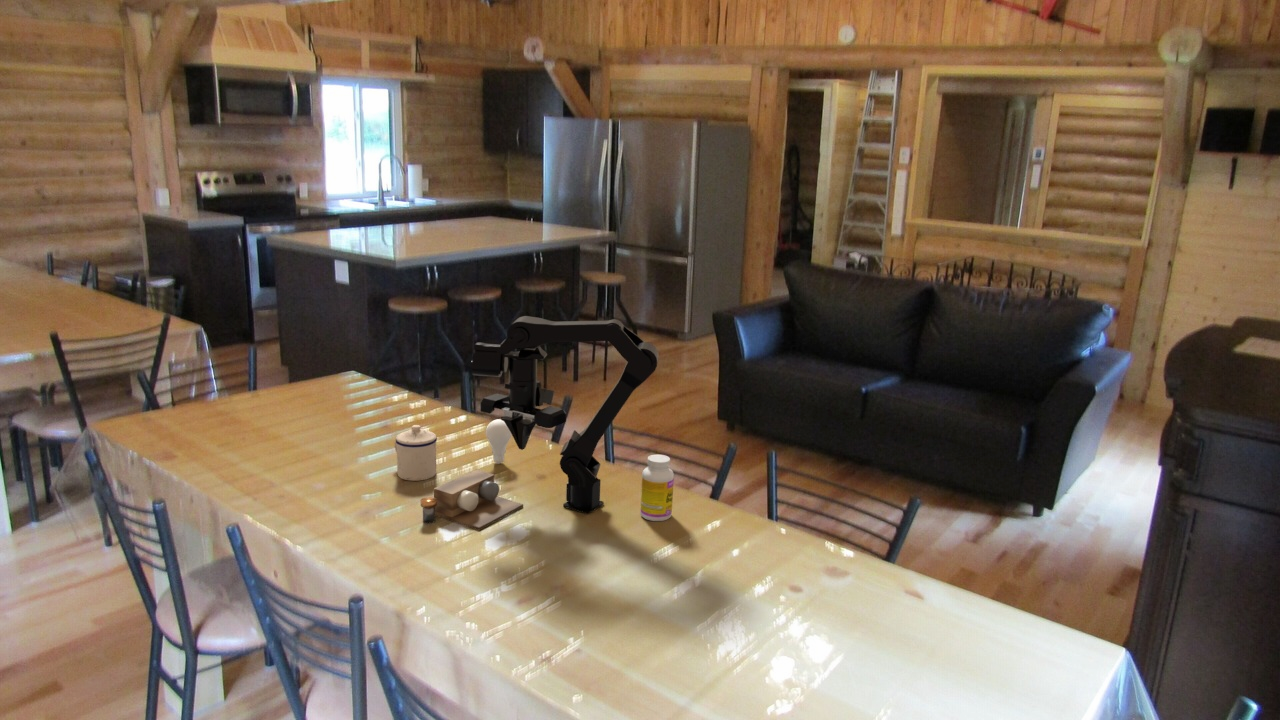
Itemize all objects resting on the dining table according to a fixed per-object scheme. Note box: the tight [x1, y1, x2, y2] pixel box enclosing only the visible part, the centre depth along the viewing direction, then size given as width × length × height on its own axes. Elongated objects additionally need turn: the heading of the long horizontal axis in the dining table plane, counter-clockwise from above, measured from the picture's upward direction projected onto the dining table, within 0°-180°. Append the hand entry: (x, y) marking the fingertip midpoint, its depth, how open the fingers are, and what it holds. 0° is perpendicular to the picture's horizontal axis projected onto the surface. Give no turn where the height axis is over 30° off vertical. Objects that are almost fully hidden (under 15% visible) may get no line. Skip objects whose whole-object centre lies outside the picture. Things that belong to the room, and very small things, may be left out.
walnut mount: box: [433, 469, 524, 531], centre depth 180 cm, size 13×14×6 cm
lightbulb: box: [485, 418, 512, 465], centre depth 205 cm, size 6×6×11 cm
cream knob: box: [457, 490, 479, 511], centre depth 179 cm, size 9×4×4 cm, turn 59°
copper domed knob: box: [420, 496, 437, 524], centre depth 174 cm, size 3×3×4 cm
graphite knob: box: [478, 480, 500, 501], centre depth 184 cm, size 9×4×4 cm, turn 59°
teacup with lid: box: [394, 424, 438, 482], centre depth 198 cm, size 12×9×12 cm
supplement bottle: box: [639, 454, 675, 522], centre depth 181 cm, size 7×7×13 cm
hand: (522, 448), depth 183 cm, fingers closed
